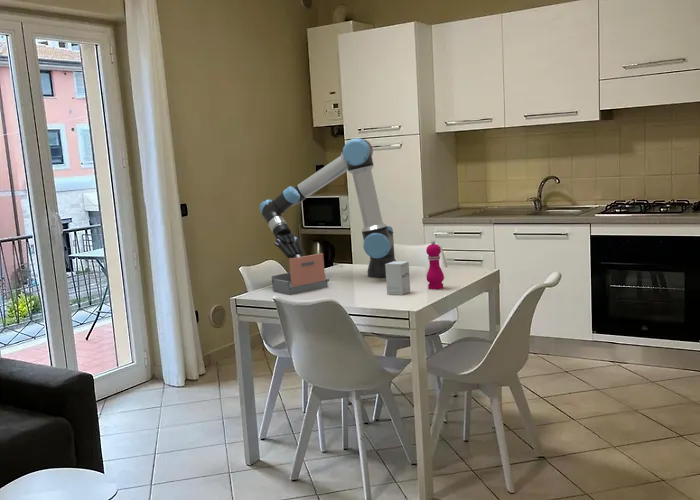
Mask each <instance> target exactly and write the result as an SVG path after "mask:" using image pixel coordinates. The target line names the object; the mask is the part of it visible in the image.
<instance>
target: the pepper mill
mask: <svg viewBox="0 0 700 500" xmlns="http://www.w3.org/2000/svg"><path fill="white" fill-rule="evenodd" d="M441 252H442V249H441V246H440V245H439V244H436V240H433V239H432V240H431V242H430V244H429V245H428V246H427V247H426V254H427V255H428V256H427V258H428V261H429V267H428V271H427V272H426V281H427V282H428V284H427V285H428V286H427V289H428V290H431V289H437V290H442V289H444V283H443V282H444V280H445V276H444V272H443V271H442V270H443V269H441V265H440V260H441Z"/></svg>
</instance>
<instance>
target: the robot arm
mask: <svg viewBox="0 0 700 500" xmlns="http://www.w3.org/2000/svg"><path fill="white" fill-rule="evenodd" d="M373 152H374V150H373V146H372V145H371V143H370V142H369V141H368V140H366V139H364V138H359V137H356V138H354V137H353V138H352V139H349V140H348V141H347V142H346V143H345V144H344V146H343V147H342V152H341V153H340V155H339V156H338V157H336V158H335V159H334V160H332V161H331V162H329V163H328V164H326V165H325V166H324V167H322V168H320V169H319V170H317V171H316V172H314V173H313V174H312V175H310V176H309V177H307V178H305V179H304V180H303V181H301V182H300V183H299V184H297V185H295V186H294V187H293V186H292V185H289V186H288V187H287V188H285V189H284V190H283V191H282V192H281V193H280V194H278V195H277V196H276V197H275V198H274V199H266V200H263V201H262V202H261V203H260V204H259V206H258V207H259V212H260V213H261V216H262V217H263V219H264V220H265V222H266V224H267V225H268V227H269V229H270V231H271V232H272V234H273V235H274V238H275V241H274V243H273V244H274V246H276V247H277V248H278V249H279V250H280V251H281V252H282V253H283V254H284V255H285V257H286V258H288V259H292V258H298V257H303V256H302V255H303V253H304V249H303V247H302V244H301V241H300V240H301V239H300V238H301V237H300V236H295V235H294V234H293V233H292V231H291V229H290V227H289V226H288V224H287V222H286V220H285V218H284V217H283V214H284V213H286V211H287V210H288V209H290V208H291V207H293V206H298V205H299V204H301V203H302V202H303V201H305V200H306V199H307V198H309V197H310V196H311V195H313V194H315V193H317V192H318V191H319V190H321V189H322V188H323V187H325V186H327V185H328V184H330V183H331V182H333V181H334V180H336V179H338V177H340V176H342V175H343V174H345V173H346V172H348V173H350V174H352V179H353V182H354V188H355V192H356V196H357V200H358V205H359V209H360V214H361V219H362V223H363V228H362V230H361V234H362V238H363V245H362V246H363V247H362V248H363V250H364V252H365V254H366V255H368V256H369V262H368V263H369V264H368V267H367V272H366V273H367V276H368V278H369V277H370V278H386V268H385V264H387V263H390V262H393V261H397V260H396V258H395V243H394V230H393V227H392V226H390V225H387V224H386V223H384V222H383V218H382V214H381V209H380V203H379V199H378V194H377V190H376V185H375V181H374V176H373V172H372V170H373V168H374V166H375V165H374V161H373Z"/></svg>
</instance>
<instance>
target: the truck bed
mask: <svg viewBox="0 0 700 500" xmlns="http://www.w3.org/2000/svg"><path fill="white" fill-rule="evenodd" d="M328 282H330V278H327V276H325V280H324V281H319V282H314V283H310V284H305V285H300V286H295V287H292V286H291V275H290V272H286V273H278V274H275V275H271V284H272V285H271V286H272V292H273V291H274V293H279V294H284V295H288V296H291V295H296V294H301V293H305V292H310V291H311V292H312V291H314V290H315V291H316V290H319V289H320V290H321V289H323V288H324V289H325V288H329V286H328V285H329V284H328Z"/></svg>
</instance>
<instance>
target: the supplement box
mask: <svg viewBox="0 0 700 500" xmlns="http://www.w3.org/2000/svg"><path fill="white" fill-rule="evenodd" d="M409 264H410V263H409V261H408V260H407V261H406V260H405V261H404V260H402V261H401V260H400V261H399V260H398V261H397V260H396V261H393V262H390V263H387V264H385V268H386V277H385V283H386V295H395V296H396V295H398V296H403V295H404V294H407V293H409V292H411V279H410V266H409Z"/></svg>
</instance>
